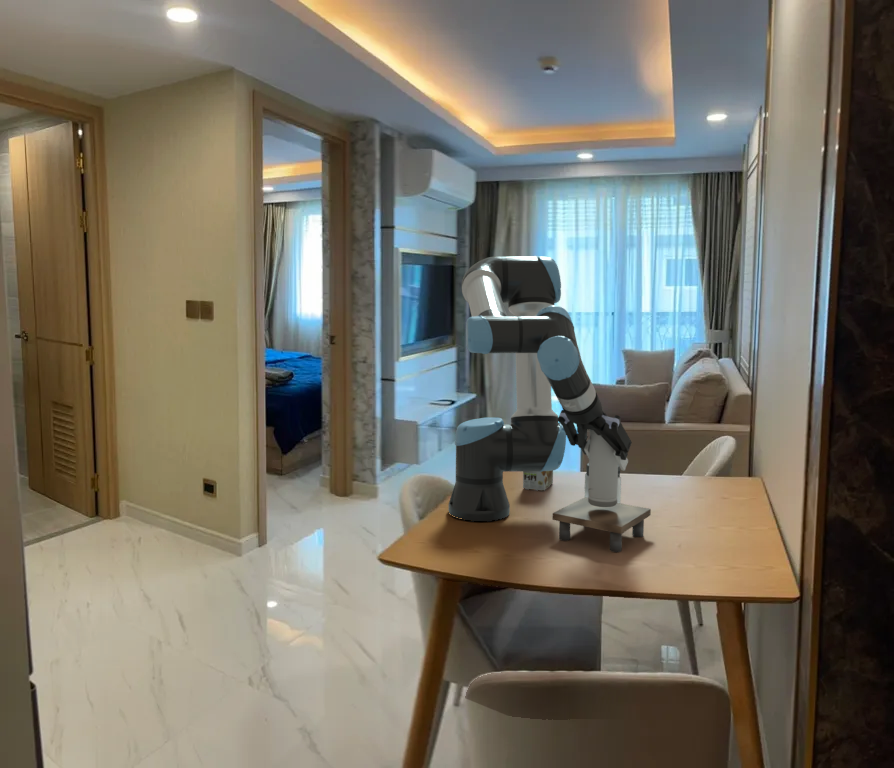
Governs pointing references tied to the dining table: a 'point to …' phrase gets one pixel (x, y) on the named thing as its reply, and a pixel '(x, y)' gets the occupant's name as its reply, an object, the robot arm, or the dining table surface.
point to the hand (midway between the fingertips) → (610, 463)
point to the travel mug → (602, 473)
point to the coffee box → (537, 479)
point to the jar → (588, 483)
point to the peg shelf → (602, 520)
